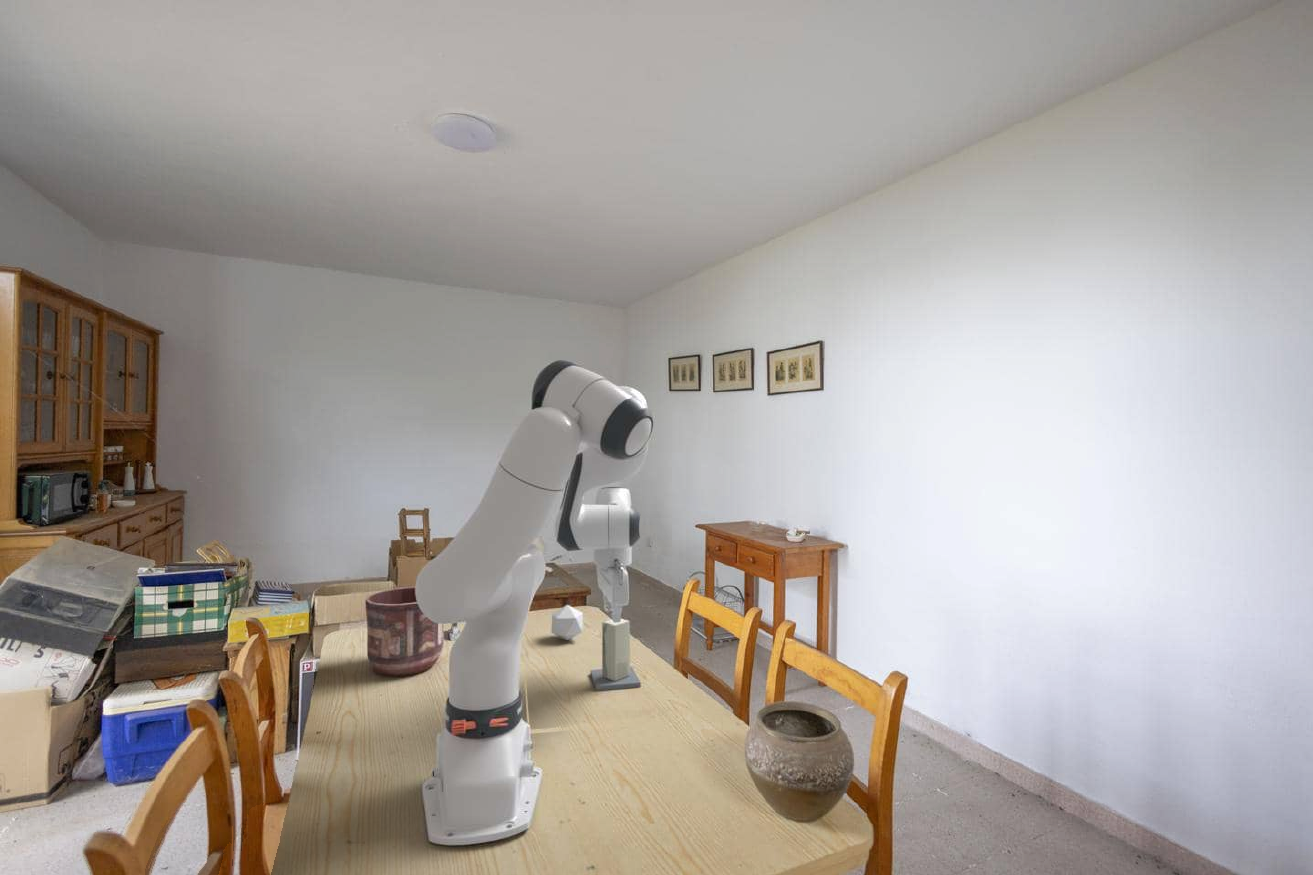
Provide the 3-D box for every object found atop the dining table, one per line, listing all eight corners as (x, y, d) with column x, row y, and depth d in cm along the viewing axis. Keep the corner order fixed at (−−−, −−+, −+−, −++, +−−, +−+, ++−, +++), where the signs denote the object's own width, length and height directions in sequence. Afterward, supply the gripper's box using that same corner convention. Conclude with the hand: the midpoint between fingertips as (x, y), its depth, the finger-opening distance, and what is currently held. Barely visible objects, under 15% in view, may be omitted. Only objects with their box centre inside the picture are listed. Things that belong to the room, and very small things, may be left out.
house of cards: (427, 639, 170) (427, 611, 170) (459, 635, 174) (460, 608, 174) (430, 648, 162) (431, 620, 162) (464, 644, 166) (464, 616, 166)
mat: (640, 686, 137) (640, 682, 137) (596, 690, 135) (596, 686, 135) (631, 670, 147) (631, 666, 147) (590, 674, 144) (590, 669, 144)
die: (571, 633, 175) (572, 599, 175) (588, 641, 168) (589, 605, 168) (545, 639, 170) (545, 603, 170) (562, 648, 163) (562, 610, 163)
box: (617, 671, 144) (617, 616, 144) (630, 675, 141) (631, 620, 141) (600, 677, 140) (601, 621, 140) (614, 682, 137) (614, 625, 137)
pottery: (420, 686, 136) (421, 606, 137) (348, 681, 139) (350, 602, 139) (457, 659, 154) (458, 587, 154) (394, 654, 157) (395, 584, 157)
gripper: (636, 564, 132) (635, 627, 132) (617, 548, 152) (617, 604, 152) (607, 565, 131) (606, 629, 130) (592, 549, 150) (592, 605, 150)
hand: (612, 615), depth 141 cm, fingers open, 8 cm apart
